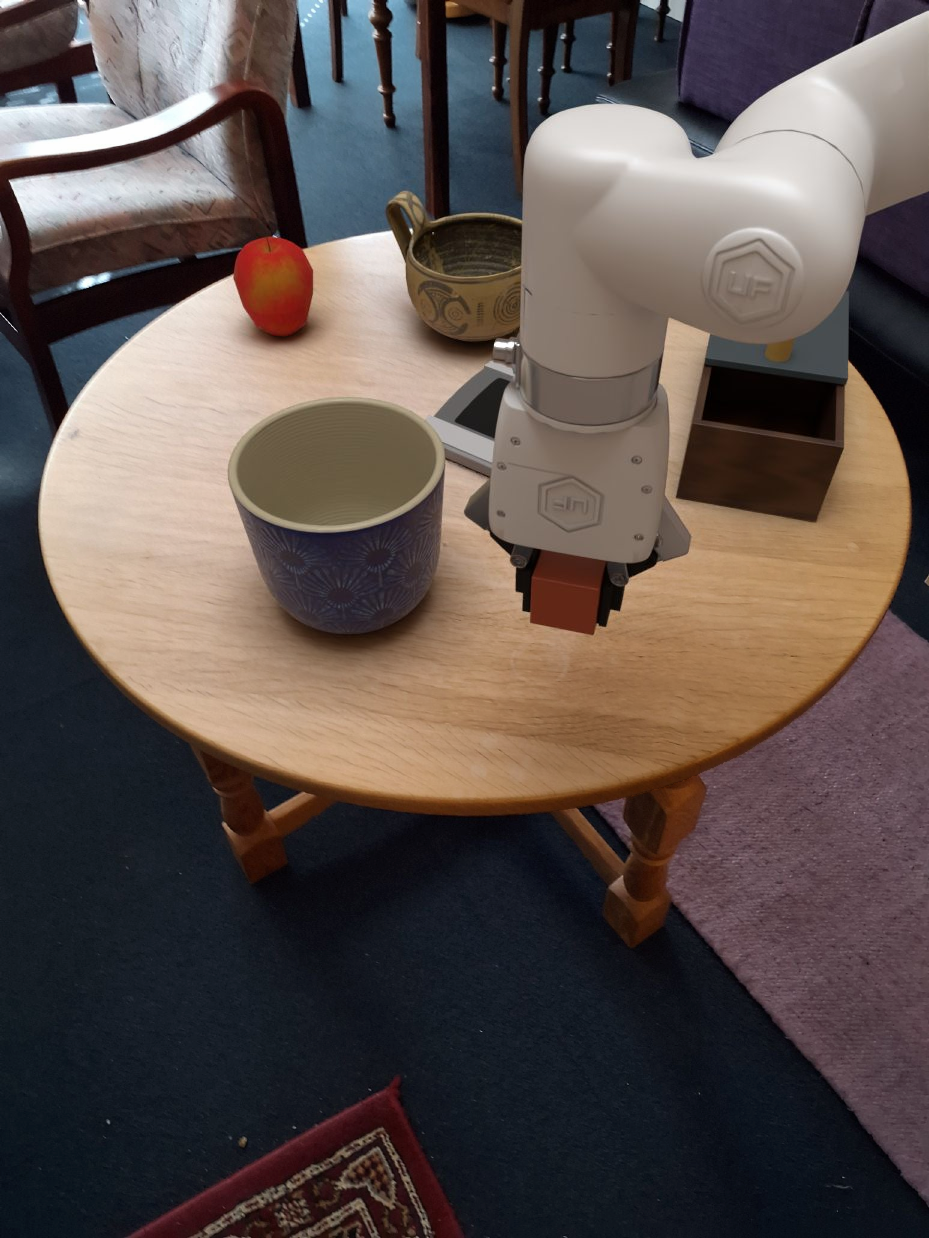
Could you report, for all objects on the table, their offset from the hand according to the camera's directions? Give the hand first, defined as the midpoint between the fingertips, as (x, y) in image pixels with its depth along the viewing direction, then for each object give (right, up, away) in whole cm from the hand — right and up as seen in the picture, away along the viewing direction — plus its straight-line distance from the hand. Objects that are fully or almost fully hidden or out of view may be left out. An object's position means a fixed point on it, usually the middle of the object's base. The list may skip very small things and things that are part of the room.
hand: (568, 603), depth 61 cm
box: (+23, +16, +33) cm, 43 cm away
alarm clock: (-1, +19, +36) cm, 40 cm away
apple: (-30, +35, +51) cm, 68 cm away
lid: (+26, +29, +32) cm, 51 cm away
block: (0, 0, 0) cm, 0 cm away
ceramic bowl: (-6, +35, +51) cm, 62 cm away
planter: (-17, +1, +20) cm, 26 cm away
